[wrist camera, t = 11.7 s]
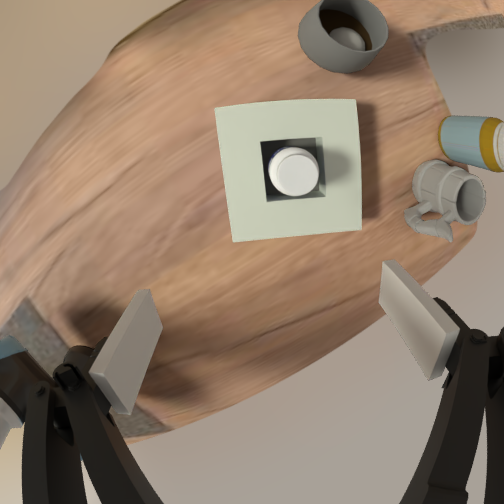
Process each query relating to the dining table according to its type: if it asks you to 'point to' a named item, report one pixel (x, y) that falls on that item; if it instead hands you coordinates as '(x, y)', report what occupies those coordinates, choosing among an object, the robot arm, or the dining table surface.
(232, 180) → the socket block
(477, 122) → the bottle
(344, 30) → the cup
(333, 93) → the dining table surface
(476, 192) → the mug
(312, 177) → the pill bottle
